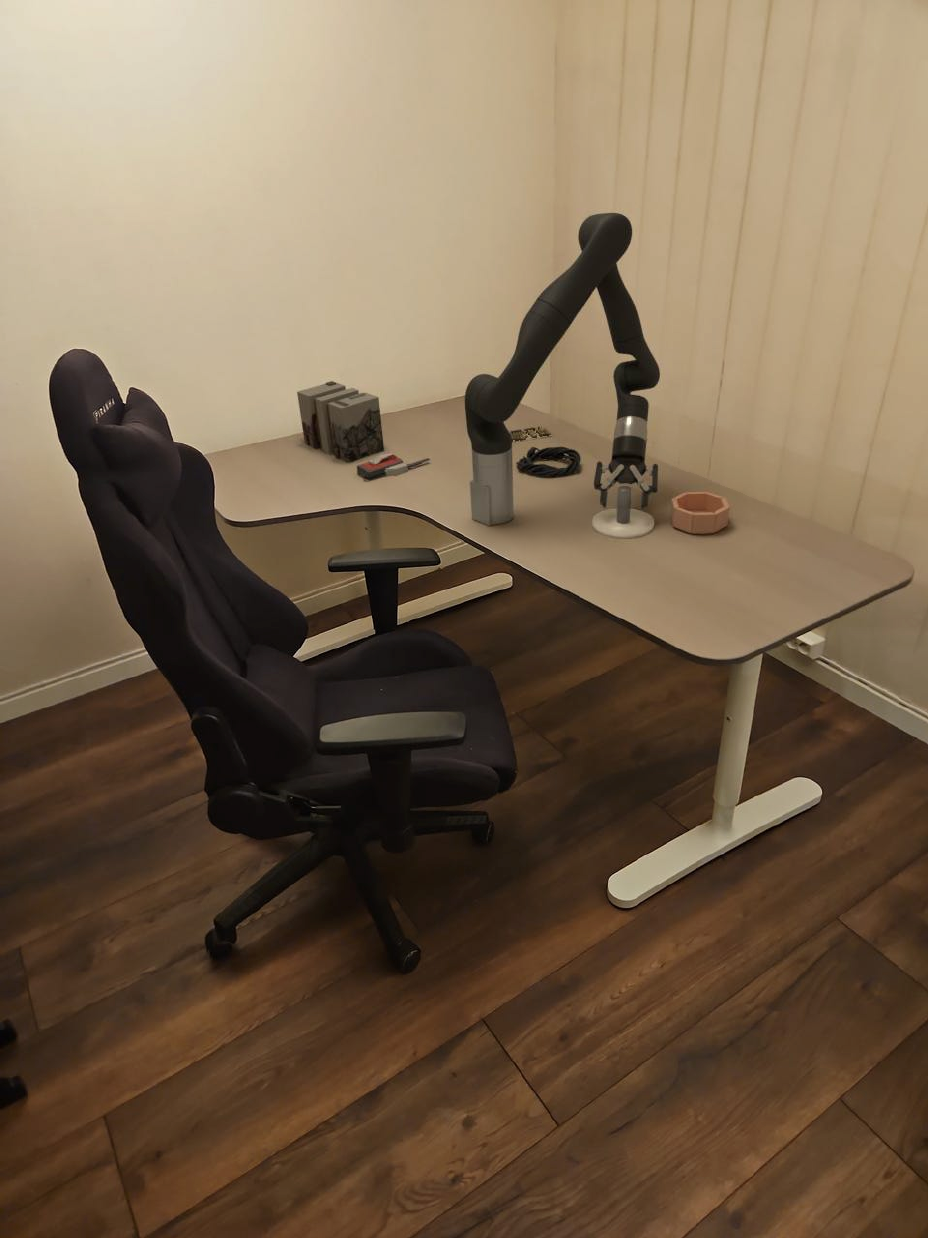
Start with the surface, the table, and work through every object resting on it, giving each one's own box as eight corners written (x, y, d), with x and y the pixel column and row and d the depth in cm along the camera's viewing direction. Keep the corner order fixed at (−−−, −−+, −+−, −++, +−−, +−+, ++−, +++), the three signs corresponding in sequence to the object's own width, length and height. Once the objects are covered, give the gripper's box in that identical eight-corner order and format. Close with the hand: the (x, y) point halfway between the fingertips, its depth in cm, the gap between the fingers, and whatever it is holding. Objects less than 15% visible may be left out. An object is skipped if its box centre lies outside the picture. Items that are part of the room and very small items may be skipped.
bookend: (341, 430, 266) (334, 377, 258) (391, 450, 250) (385, 394, 241) (296, 445, 258) (287, 390, 249) (345, 467, 241) (337, 409, 233)
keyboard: (482, 450, 248) (482, 443, 247) (473, 439, 256) (473, 433, 254) (555, 438, 253) (555, 431, 252) (544, 428, 260) (544, 421, 259)
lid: (626, 545, 194) (628, 507, 189) (579, 526, 203) (580, 489, 199) (666, 524, 202) (669, 487, 197) (619, 507, 211) (620, 471, 206)
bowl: (704, 540, 194) (706, 519, 191) (660, 523, 202) (661, 503, 199) (736, 522, 200) (738, 502, 198) (692, 507, 208) (694, 487, 206)
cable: (591, 467, 233) (591, 451, 231) (561, 485, 224) (561, 469, 222) (537, 454, 243) (537, 439, 240) (507, 471, 234) (506, 455, 231)
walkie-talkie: (369, 485, 230) (432, 465, 240) (368, 470, 228) (431, 449, 238) (352, 476, 236) (413, 456, 246) (350, 460, 234) (412, 441, 244)
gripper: (597, 432, 200) (590, 500, 197) (661, 434, 197) (655, 503, 194) (599, 446, 207) (592, 511, 204) (661, 448, 204) (655, 515, 201)
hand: (623, 507), depth 199 cm, fingers open, 8 cm apart
